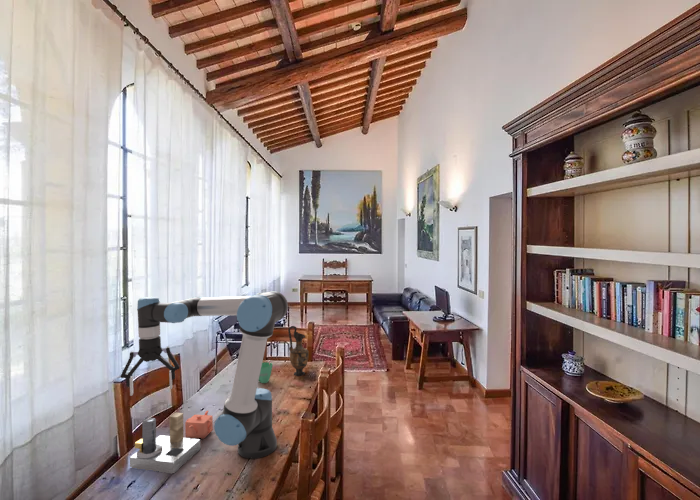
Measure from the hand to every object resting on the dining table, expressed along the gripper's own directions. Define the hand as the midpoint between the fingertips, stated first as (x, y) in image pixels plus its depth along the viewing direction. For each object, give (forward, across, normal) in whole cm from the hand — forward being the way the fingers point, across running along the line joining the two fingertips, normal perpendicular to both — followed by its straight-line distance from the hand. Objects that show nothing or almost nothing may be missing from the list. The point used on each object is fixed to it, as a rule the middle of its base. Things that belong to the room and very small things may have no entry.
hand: (151, 391), depth 146 cm
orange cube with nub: (+25, -17, -7) cm, 31 cm away
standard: (+20, +1, +7) cm, 22 cm away
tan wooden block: (+20, -8, +2) cm, 22 cm away
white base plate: (+24, -5, +7) cm, 26 cm away
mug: (+24, -52, -58) cm, 81 cm away
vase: (+25, -76, -61) cm, 101 cm away
